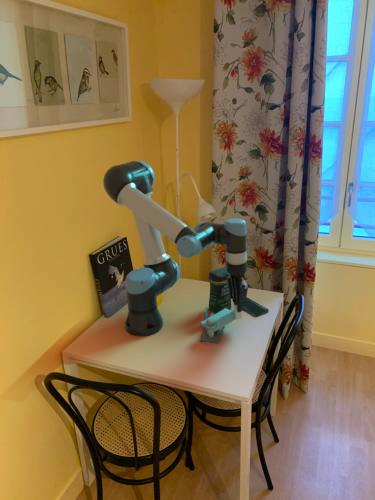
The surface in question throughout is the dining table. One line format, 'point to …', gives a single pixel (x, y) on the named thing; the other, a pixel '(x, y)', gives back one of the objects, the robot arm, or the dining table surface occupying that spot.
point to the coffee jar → (219, 290)
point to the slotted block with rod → (209, 334)
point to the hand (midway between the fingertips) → (238, 317)
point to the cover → (219, 320)
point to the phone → (254, 308)
